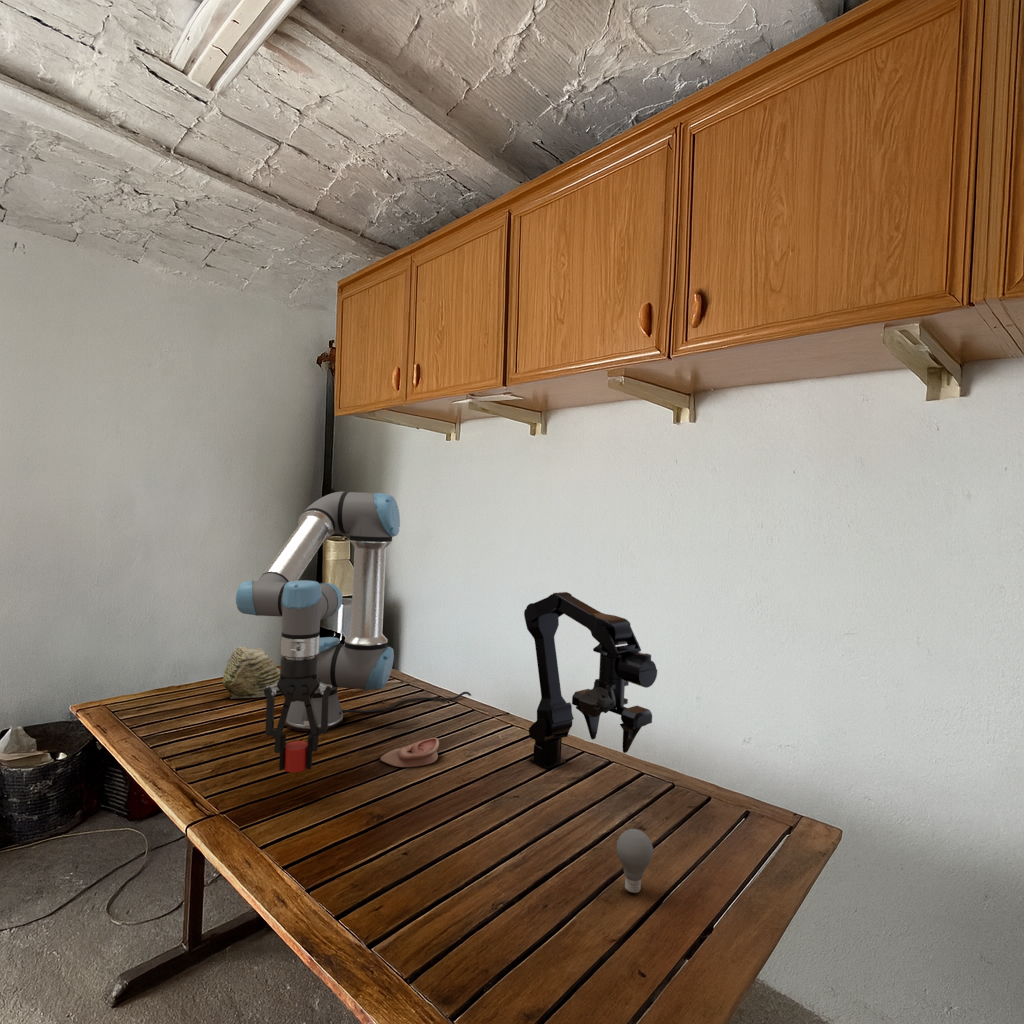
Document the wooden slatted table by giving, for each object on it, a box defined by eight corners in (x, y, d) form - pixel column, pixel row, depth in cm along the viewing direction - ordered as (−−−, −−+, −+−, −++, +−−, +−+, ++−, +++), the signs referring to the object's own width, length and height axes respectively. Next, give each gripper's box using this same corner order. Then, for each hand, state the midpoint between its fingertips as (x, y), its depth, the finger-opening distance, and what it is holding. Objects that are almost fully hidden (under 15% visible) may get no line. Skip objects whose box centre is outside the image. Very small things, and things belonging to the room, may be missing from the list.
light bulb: (610, 879, 108) (613, 822, 108) (644, 879, 109) (647, 822, 109) (619, 902, 102) (622, 840, 102) (655, 901, 103) (658, 840, 103)
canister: (282, 773, 129) (283, 750, 129) (284, 763, 134) (285, 741, 134) (306, 771, 131) (307, 749, 130) (308, 762, 135) (309, 740, 135)
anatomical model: (375, 747, 151) (394, 730, 162) (374, 764, 151) (393, 746, 162) (428, 754, 148) (443, 736, 159) (427, 771, 148) (443, 752, 159)
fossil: (218, 695, 195) (220, 647, 195) (278, 685, 208) (279, 640, 207) (228, 703, 189) (230, 653, 188) (289, 692, 201) (290, 645, 201)
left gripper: (250, 660, 126) (246, 776, 127) (342, 660, 130) (338, 772, 130) (258, 651, 133) (254, 761, 134) (345, 651, 137) (340, 757, 138)
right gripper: (556, 671, 142) (553, 740, 142) (621, 692, 128) (618, 769, 128) (590, 664, 149) (586, 729, 149) (655, 683, 135) (651, 756, 135)
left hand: (295, 766), depth 132 cm, fingers closed on canister, 5 cm apart
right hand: (608, 745), depth 140 cm, fingers open, 9 cm apart
